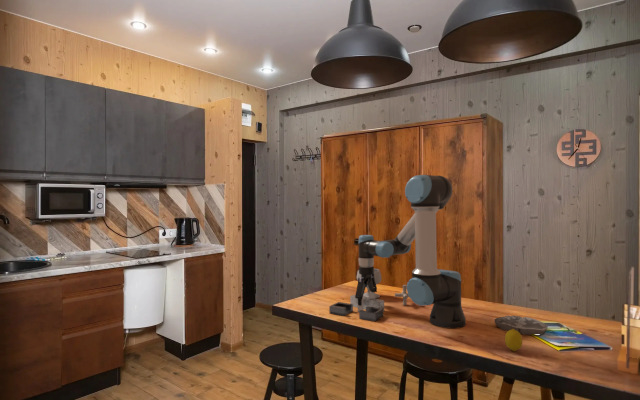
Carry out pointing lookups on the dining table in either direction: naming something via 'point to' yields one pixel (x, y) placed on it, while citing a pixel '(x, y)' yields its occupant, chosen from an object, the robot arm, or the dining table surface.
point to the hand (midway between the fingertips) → (366, 308)
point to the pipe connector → (403, 295)
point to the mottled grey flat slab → (521, 324)
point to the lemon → (513, 340)
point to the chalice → (377, 278)
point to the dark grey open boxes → (369, 314)
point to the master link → (367, 302)
